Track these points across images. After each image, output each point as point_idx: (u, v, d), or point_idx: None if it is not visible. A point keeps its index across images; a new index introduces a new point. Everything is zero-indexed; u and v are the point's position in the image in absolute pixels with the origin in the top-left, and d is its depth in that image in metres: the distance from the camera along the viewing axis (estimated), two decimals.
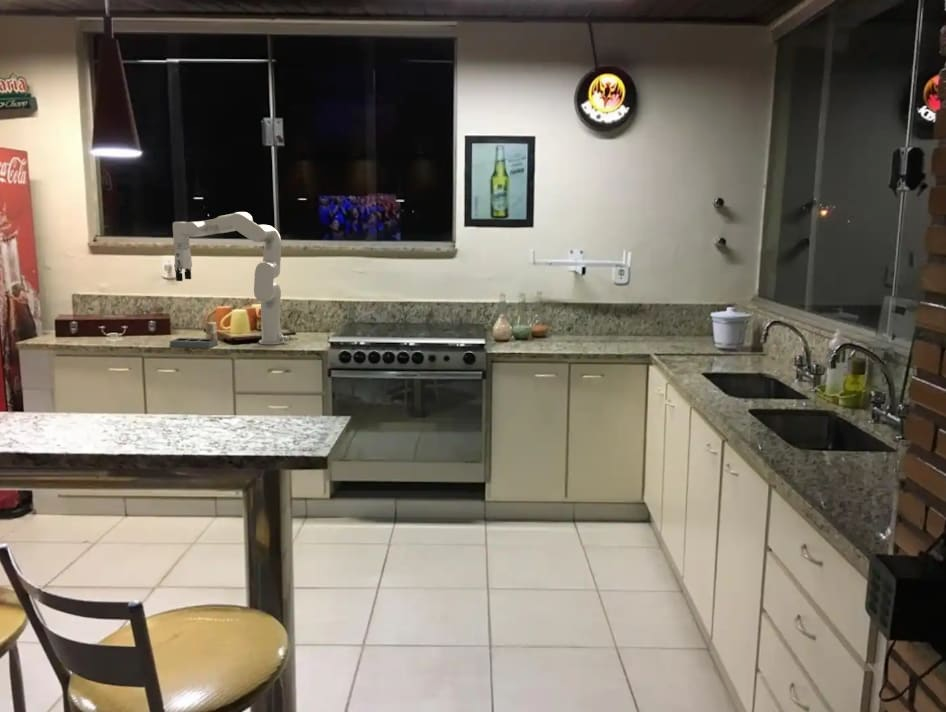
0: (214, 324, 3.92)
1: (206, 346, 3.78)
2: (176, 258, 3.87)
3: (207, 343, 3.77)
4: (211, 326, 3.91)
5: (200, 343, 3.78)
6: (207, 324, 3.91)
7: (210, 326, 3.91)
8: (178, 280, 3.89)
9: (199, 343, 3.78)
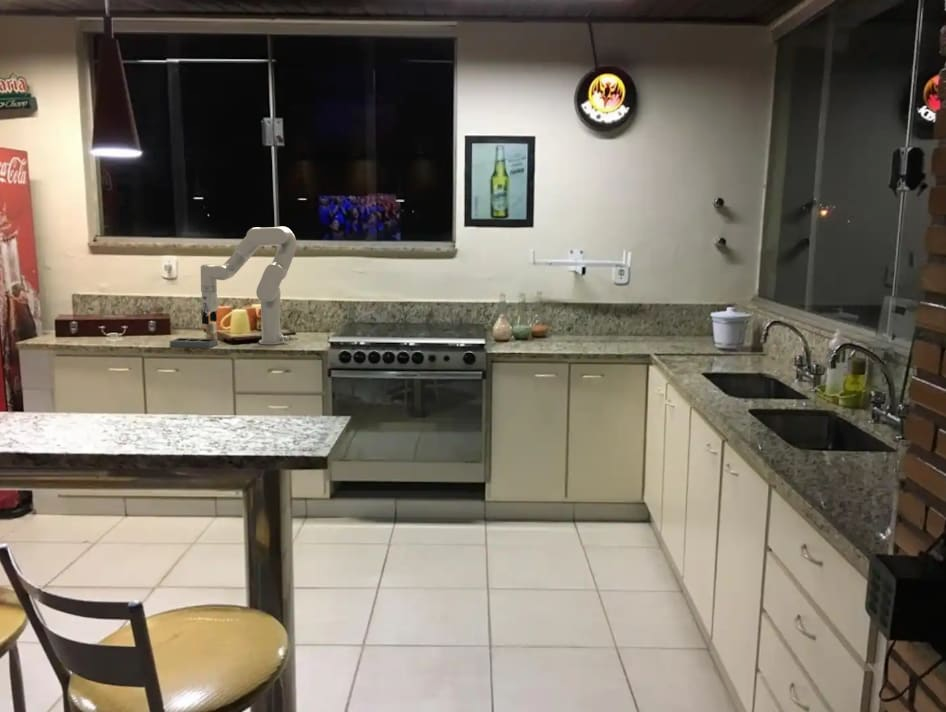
0: (214, 324, 3.92)
1: (206, 346, 3.78)
2: (203, 301, 3.86)
3: (207, 343, 3.77)
4: (211, 326, 3.91)
5: (200, 343, 3.78)
6: (207, 324, 3.91)
7: (210, 326, 3.91)
8: (204, 323, 3.88)
9: (199, 343, 3.78)
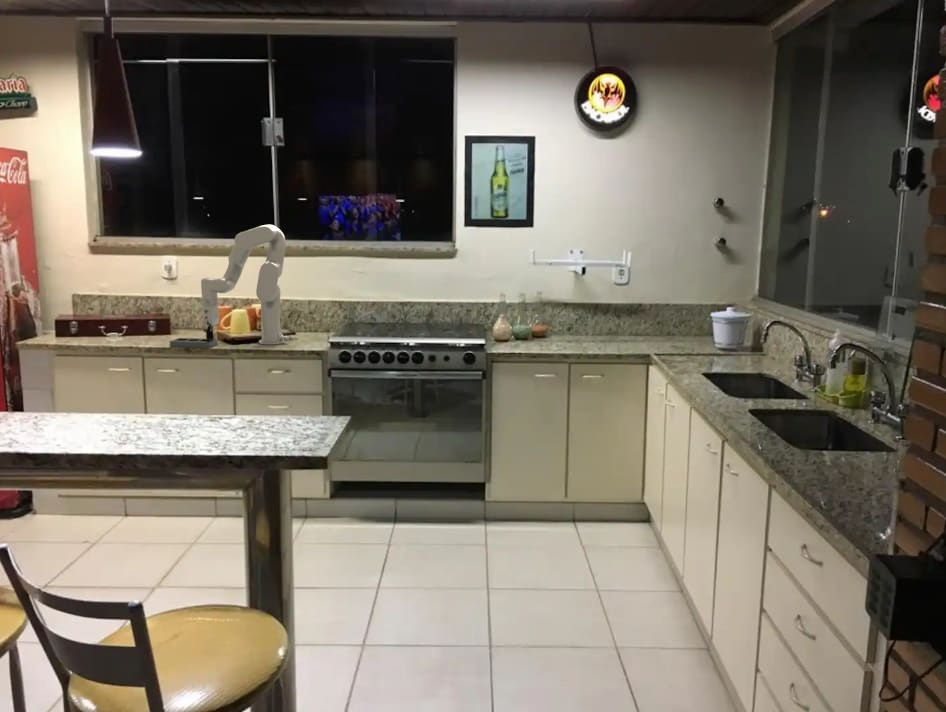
0: None
1: (206, 346, 3.78)
2: (204, 315, 3.87)
3: (207, 343, 3.77)
4: None
5: (200, 343, 3.78)
6: None
7: None
8: (208, 338, 3.92)
9: (199, 343, 3.78)
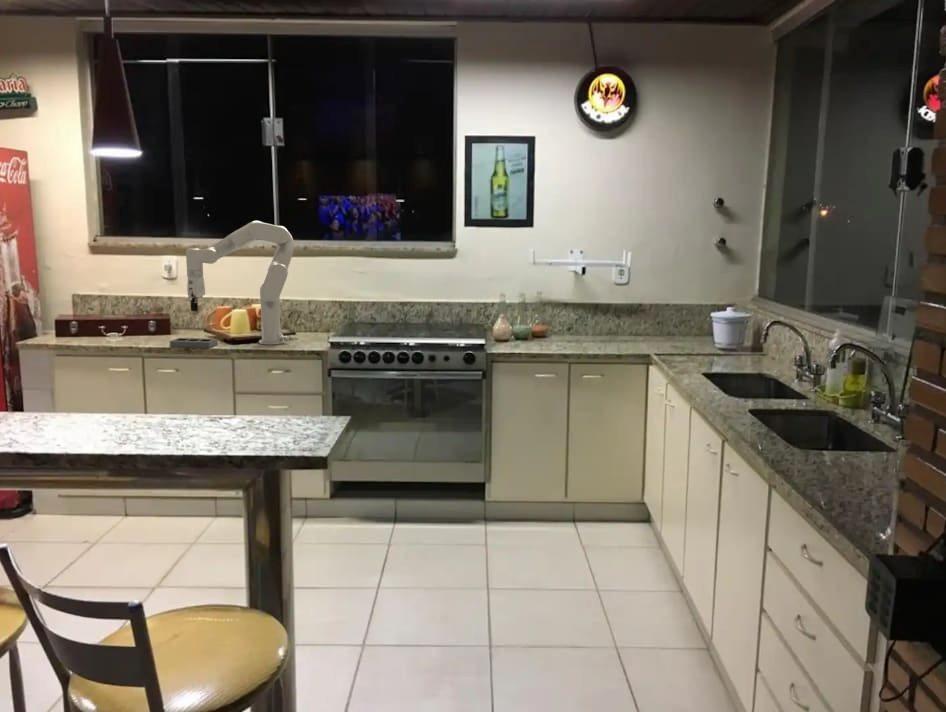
0: None
1: (206, 346, 3.78)
2: (189, 286, 3.76)
3: (207, 343, 3.77)
4: None
5: (200, 343, 3.78)
6: None
7: None
8: (193, 310, 3.80)
9: (199, 343, 3.78)
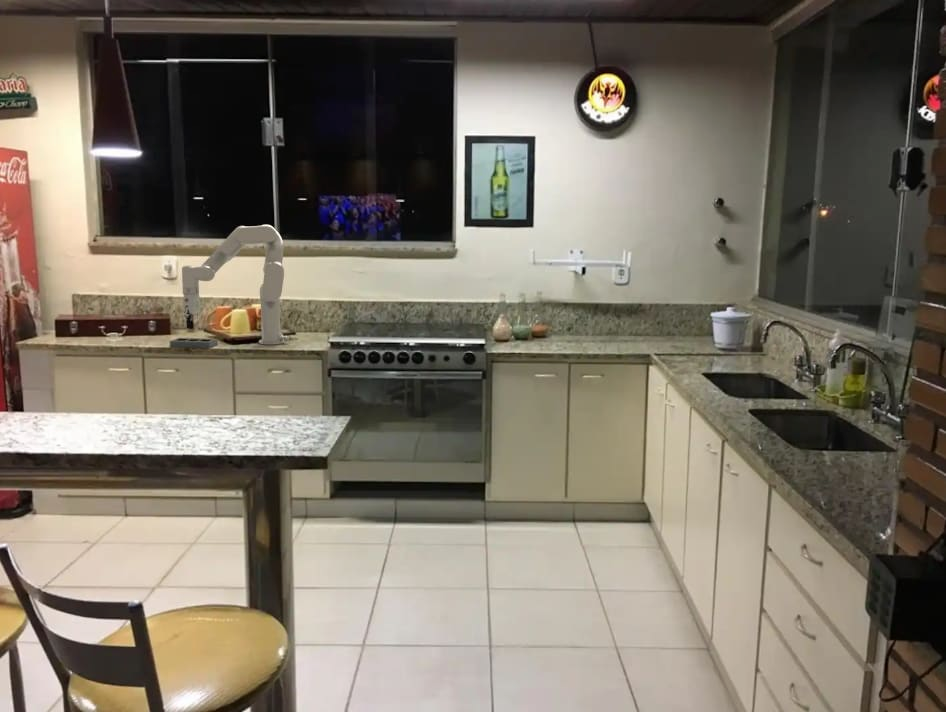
0: None
1: (206, 346, 3.78)
2: (185, 303, 3.74)
3: (207, 343, 3.77)
4: None
5: (200, 343, 3.78)
6: None
7: None
8: (189, 328, 3.79)
9: (199, 343, 3.78)
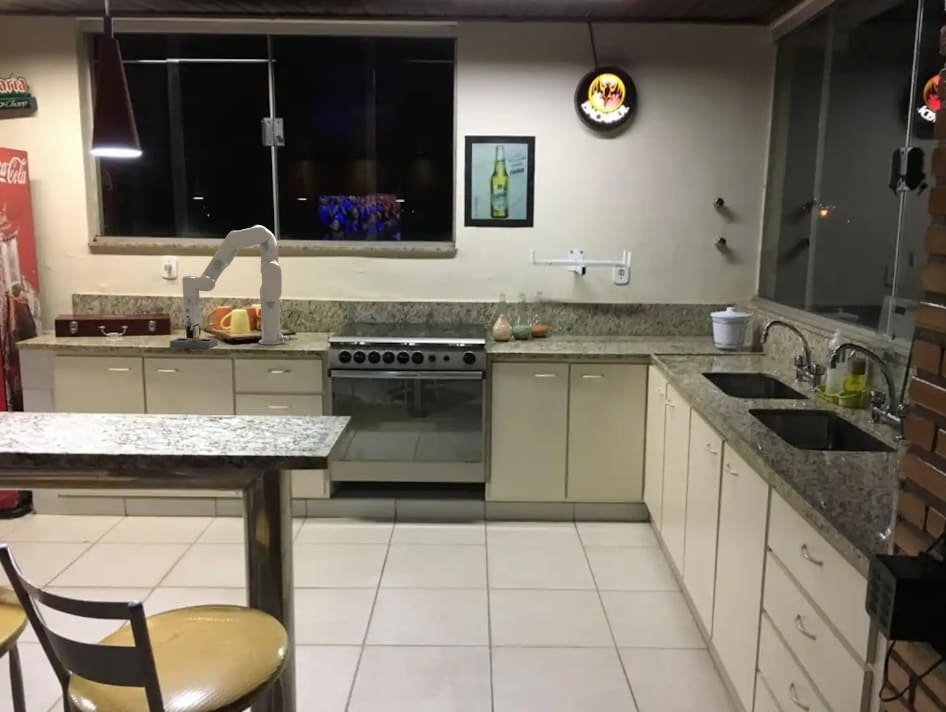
0: (196, 327, 3.81)
1: (206, 346, 3.78)
2: (186, 314, 3.75)
3: (207, 343, 3.77)
4: (193, 330, 3.80)
5: (200, 343, 3.78)
6: None
7: None
8: (188, 337, 3.78)
9: (199, 343, 3.78)
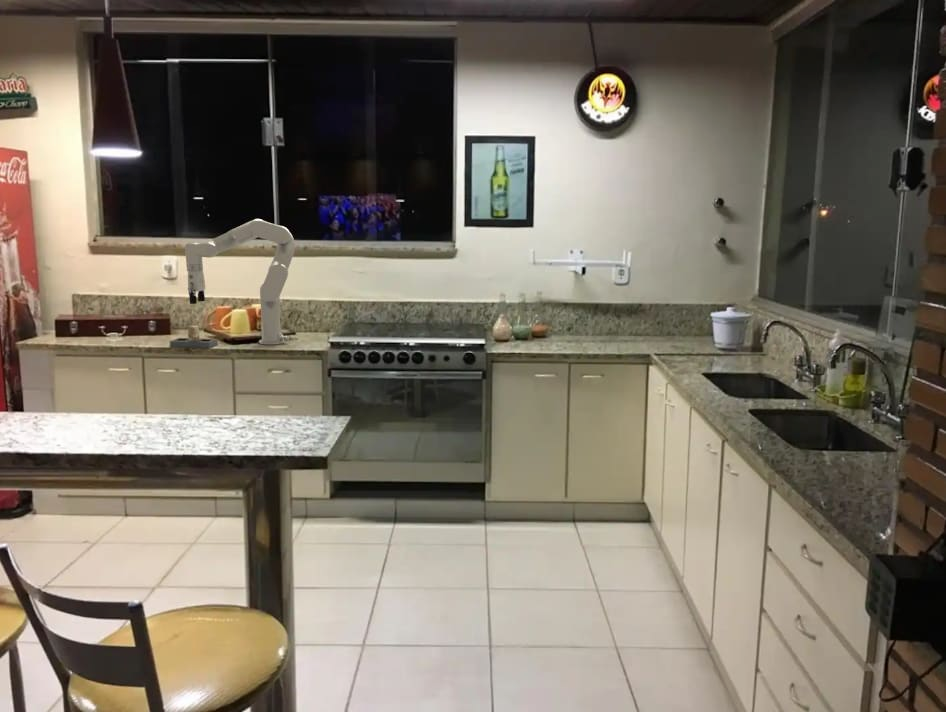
0: (196, 328, 3.81)
1: (206, 346, 3.78)
2: (189, 280, 3.75)
3: (207, 343, 3.77)
4: (193, 330, 3.80)
5: (200, 343, 3.78)
6: (189, 328, 3.80)
7: (192, 330, 3.80)
8: (192, 303, 3.77)
9: (199, 343, 3.78)
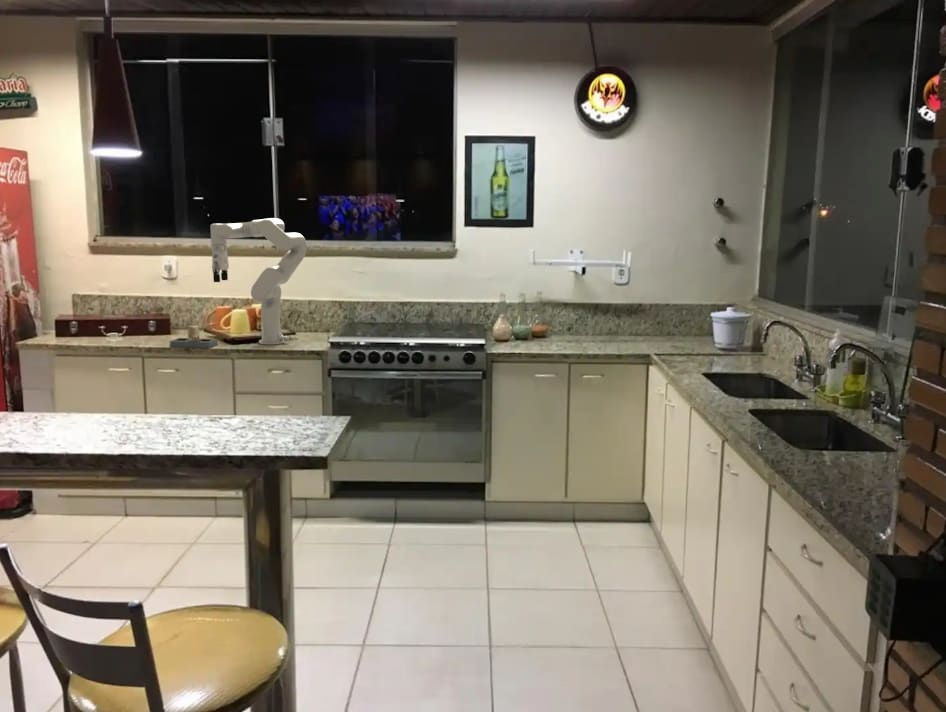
0: (196, 328, 3.81)
1: (206, 346, 3.78)
2: (214, 259, 3.91)
3: (207, 343, 3.77)
4: (193, 330, 3.80)
5: (200, 343, 3.78)
6: (189, 328, 3.80)
7: (192, 330, 3.80)
8: (216, 281, 3.93)
9: (199, 343, 3.78)
